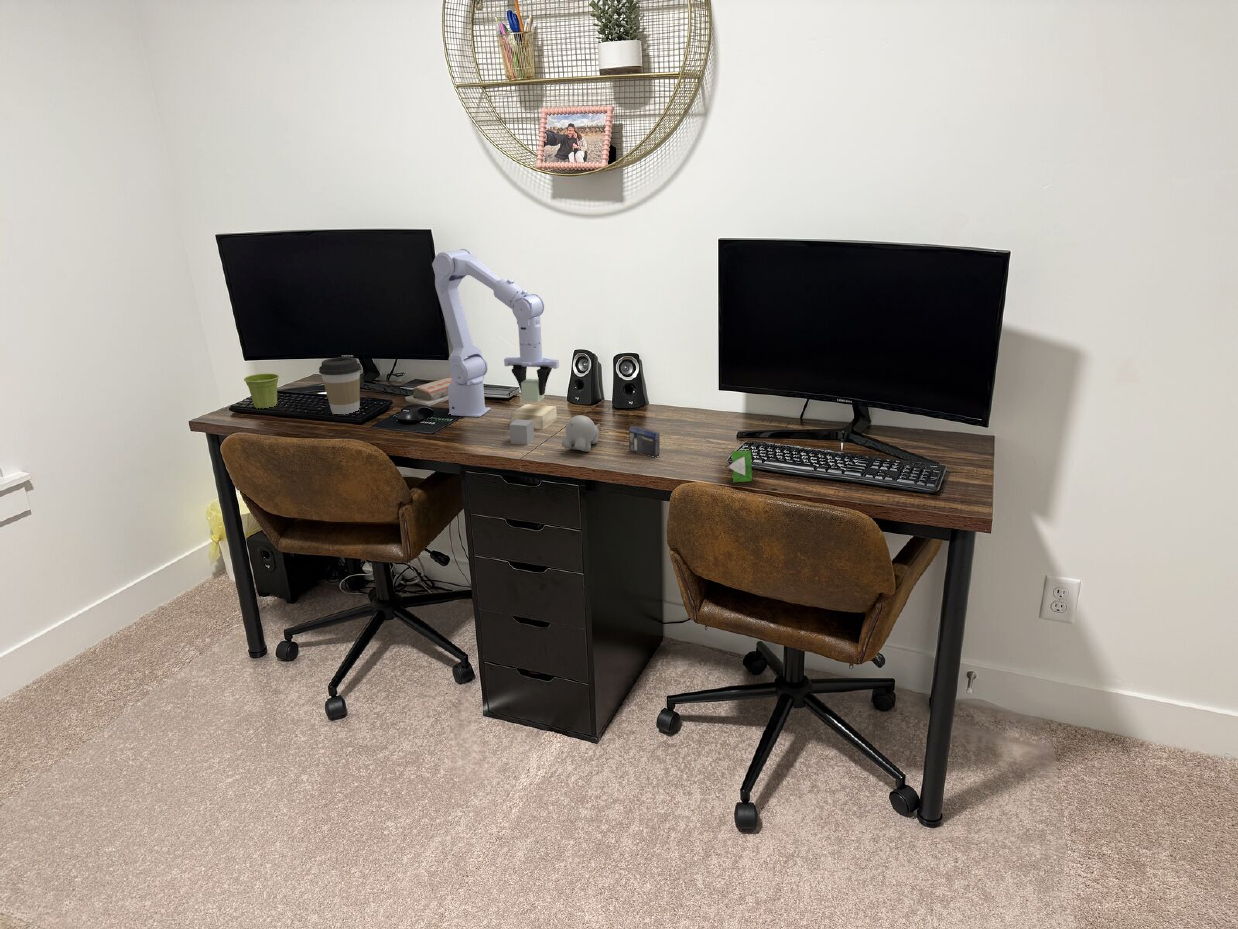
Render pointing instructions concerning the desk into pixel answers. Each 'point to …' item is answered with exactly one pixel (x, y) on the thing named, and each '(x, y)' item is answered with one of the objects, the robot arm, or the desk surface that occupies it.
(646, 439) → the mini dv tape
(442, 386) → the packaged product
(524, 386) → the sage cube
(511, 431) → the grey cube
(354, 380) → the coffee cup
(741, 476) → the geometric puzzle
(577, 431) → the round bodied animal figurine
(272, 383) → the plant pot
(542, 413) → the birch block
